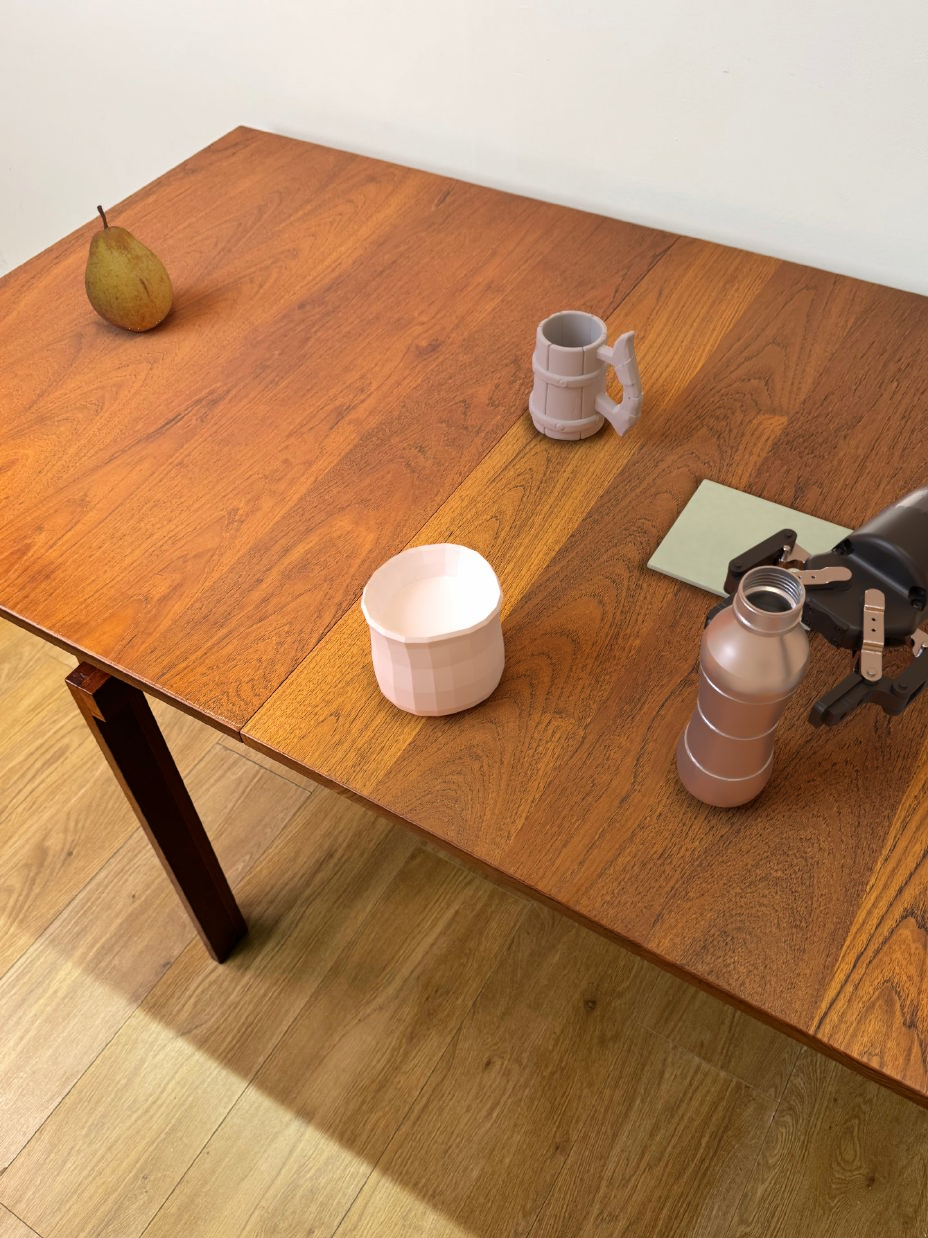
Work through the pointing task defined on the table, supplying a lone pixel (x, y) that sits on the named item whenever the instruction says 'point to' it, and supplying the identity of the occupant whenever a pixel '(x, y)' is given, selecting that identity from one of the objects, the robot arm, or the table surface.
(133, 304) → the fruit
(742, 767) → the metal bottle
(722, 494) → the mat
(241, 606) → the table surface
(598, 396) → the mug
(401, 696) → the cup
